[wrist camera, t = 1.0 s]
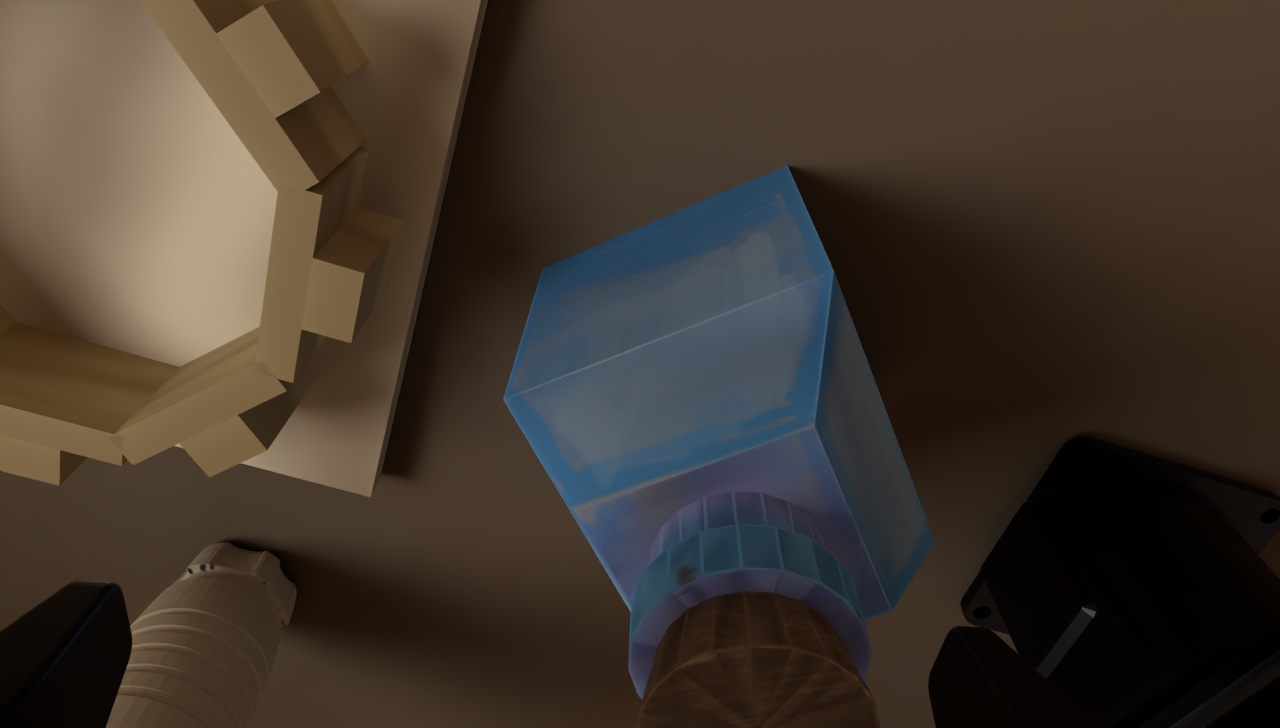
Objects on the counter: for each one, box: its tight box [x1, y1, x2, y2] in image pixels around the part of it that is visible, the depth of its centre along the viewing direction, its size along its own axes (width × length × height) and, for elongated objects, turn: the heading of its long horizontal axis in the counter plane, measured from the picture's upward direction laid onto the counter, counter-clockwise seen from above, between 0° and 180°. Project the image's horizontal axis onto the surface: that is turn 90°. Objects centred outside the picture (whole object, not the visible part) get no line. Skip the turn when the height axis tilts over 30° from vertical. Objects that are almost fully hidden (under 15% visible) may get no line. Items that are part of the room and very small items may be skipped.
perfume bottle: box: [503, 165, 935, 728], centre depth 17 cm, size 6×6×12 cm
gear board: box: [0, 0, 488, 497], centre depth 19 cm, size 14×14×4 cm
